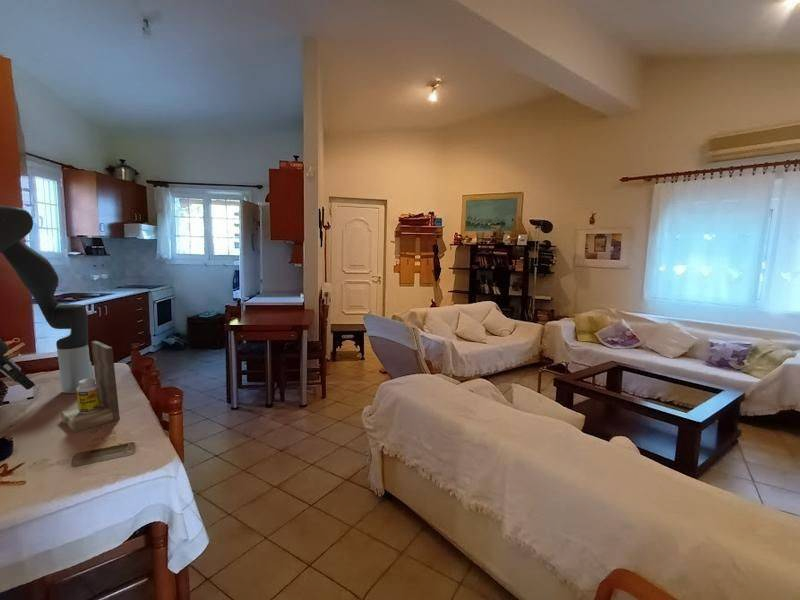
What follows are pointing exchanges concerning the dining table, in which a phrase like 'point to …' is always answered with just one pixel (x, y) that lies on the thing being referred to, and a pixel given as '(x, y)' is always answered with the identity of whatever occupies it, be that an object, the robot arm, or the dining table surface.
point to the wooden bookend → (106, 392)
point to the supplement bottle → (88, 396)
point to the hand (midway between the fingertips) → (27, 383)
